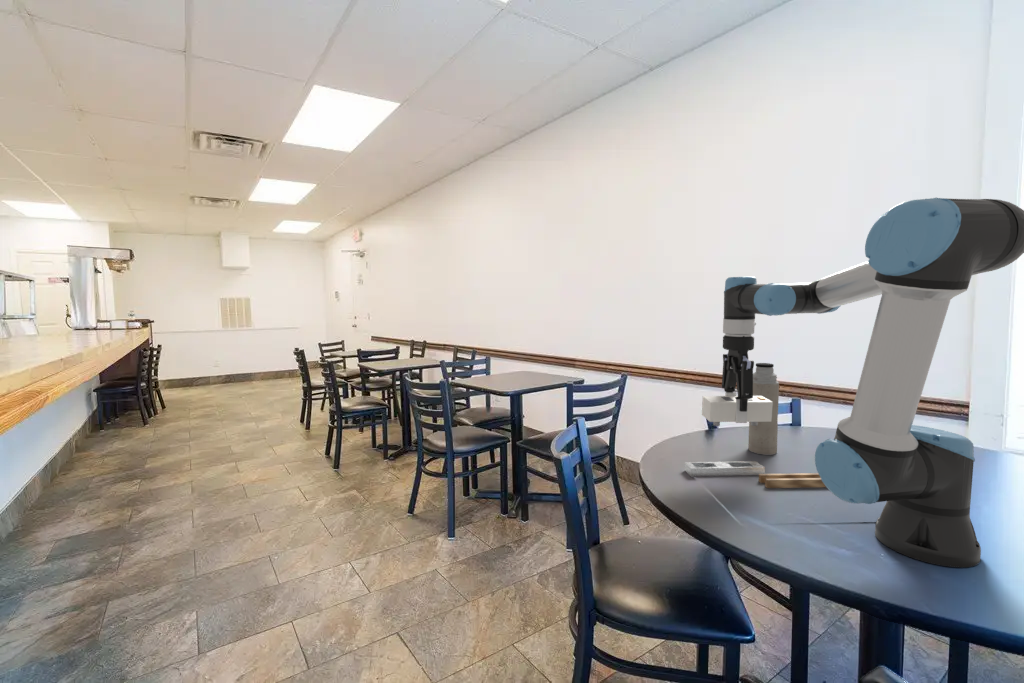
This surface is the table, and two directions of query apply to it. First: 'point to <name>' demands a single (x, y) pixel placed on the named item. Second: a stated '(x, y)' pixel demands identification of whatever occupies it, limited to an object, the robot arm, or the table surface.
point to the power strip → (725, 409)
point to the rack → (791, 480)
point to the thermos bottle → (766, 432)
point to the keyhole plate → (724, 468)
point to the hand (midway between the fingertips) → (735, 418)
